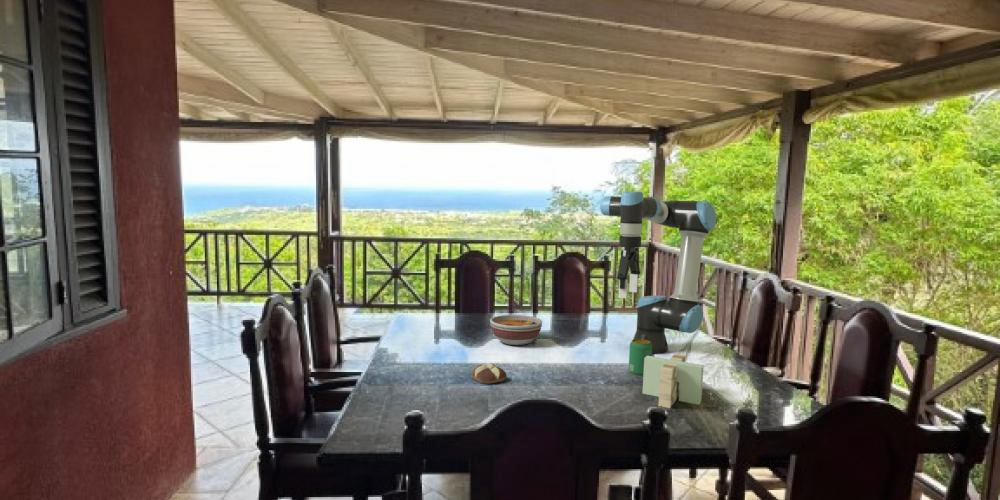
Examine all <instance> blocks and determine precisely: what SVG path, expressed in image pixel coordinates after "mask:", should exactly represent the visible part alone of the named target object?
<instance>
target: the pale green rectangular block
mask: <svg viewBox="0 0 1000 500" xmlns="http://www.w3.org/2000/svg"><path fill="white" fill-rule="evenodd" d="M666 363H671V364H677V381H676V382H679V383H680V390H679V397H678V402H683V403H688V404H693V405H698V406H699V405H700V404H701V402H702V395H703V393H702V392H703V379H704V364H700V363H693V362H687V361H686V362H682V361H676V360H670V359H669V358H665V357H657V356H653V355H652V356H646V357H645V358H644V374H643V376H642V394H643V395H648V396H654V397H658V398H659V388H660V371H661V368H662V367H663V366H664V365H665V364H666Z"/></svg>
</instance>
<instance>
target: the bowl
mask: <svg viewBox="0 0 1000 500" xmlns="http://www.w3.org/2000/svg"><path fill="white" fill-rule="evenodd" d="M489 322H490V323H489V324H490V328H491V331H492V333H493V335H494V336H495V338H497V340H499V341H500V342H501V343H502V344H505V345H509V346H510V345H511V346H525V345H528V344H530V343H532V342H533V341H534V340H535V339H536V338H537V337H538V336H539V334H540V333H541V330H542V327H543V320H542V319H540V318H538V317H536V316H532V315H523V314H503V315H497V316H493V317H491V318H489Z"/></svg>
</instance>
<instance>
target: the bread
mask: <svg viewBox="0 0 1000 500" xmlns="http://www.w3.org/2000/svg"><path fill="white" fill-rule="evenodd" d="M471 378H472V379H473V380H475V381H476V382H477V383H481V384H487V385H488V384H496V383H500V382H503V381H505V380H506V378H507V372H506V371H505V370H504V369H503V368H501V367H499V366H498V365H496V364H495V363H489V364H487V365H485V364H483V363H482V364H480V365H478V366H476V367H475V368H474V369H473V370H472V372H471Z"/></svg>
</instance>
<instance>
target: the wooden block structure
mask: <svg viewBox="0 0 1000 500" xmlns="http://www.w3.org/2000/svg"><path fill="white" fill-rule="evenodd" d="M670 360H676V361H682V362H687V355H686V354H681V353H674V354H673V355H672V357H670ZM676 381H677V364H671V363H666V364H665V365H664V366H663V367H662V368H661V371H660V388H659V397H658V407H661V406H662V407H663V408H667V409H671V407H672V406H673V405H674V403H675V402H676V401H677V399H679V390H680V383H679V382H676Z"/></svg>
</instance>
